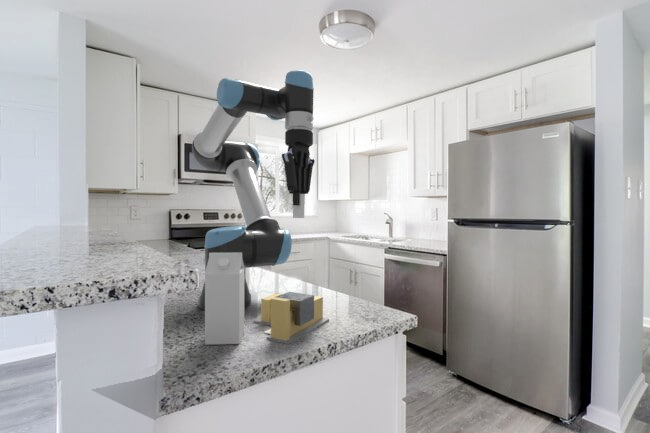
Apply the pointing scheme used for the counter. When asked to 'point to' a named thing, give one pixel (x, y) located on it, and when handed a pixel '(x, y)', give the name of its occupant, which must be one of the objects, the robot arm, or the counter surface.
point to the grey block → (300, 306)
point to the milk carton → (224, 299)
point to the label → (268, 331)
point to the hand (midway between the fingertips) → (298, 217)
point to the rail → (292, 321)
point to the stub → (266, 310)
